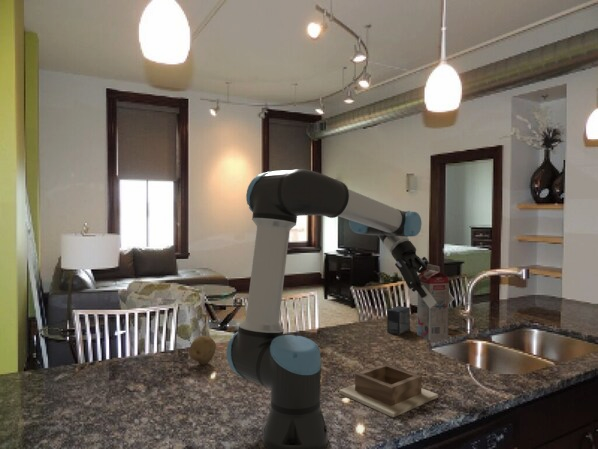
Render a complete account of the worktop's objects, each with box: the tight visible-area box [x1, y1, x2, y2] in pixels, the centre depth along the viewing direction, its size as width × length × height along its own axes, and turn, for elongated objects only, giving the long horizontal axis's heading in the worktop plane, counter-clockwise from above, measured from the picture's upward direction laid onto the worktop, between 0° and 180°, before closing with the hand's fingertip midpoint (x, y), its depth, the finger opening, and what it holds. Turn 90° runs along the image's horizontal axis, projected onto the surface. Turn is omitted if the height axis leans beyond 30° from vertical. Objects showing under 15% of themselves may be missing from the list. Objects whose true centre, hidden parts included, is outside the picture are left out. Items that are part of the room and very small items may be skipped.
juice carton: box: [416, 263, 450, 341], centre depth 137 cm, size 7×7×22 cm
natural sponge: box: [188, 335, 217, 365], centre depth 156 cm, size 9×9×10 cm
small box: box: [386, 305, 411, 336], centre depth 199 cm, size 11×6×10 cm, turn 141°
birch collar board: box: [338, 363, 439, 418], centre depth 130 cm, size 20×20×6 cm
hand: (442, 303), depth 134 cm, fingers closed on juice carton, 9 cm apart
